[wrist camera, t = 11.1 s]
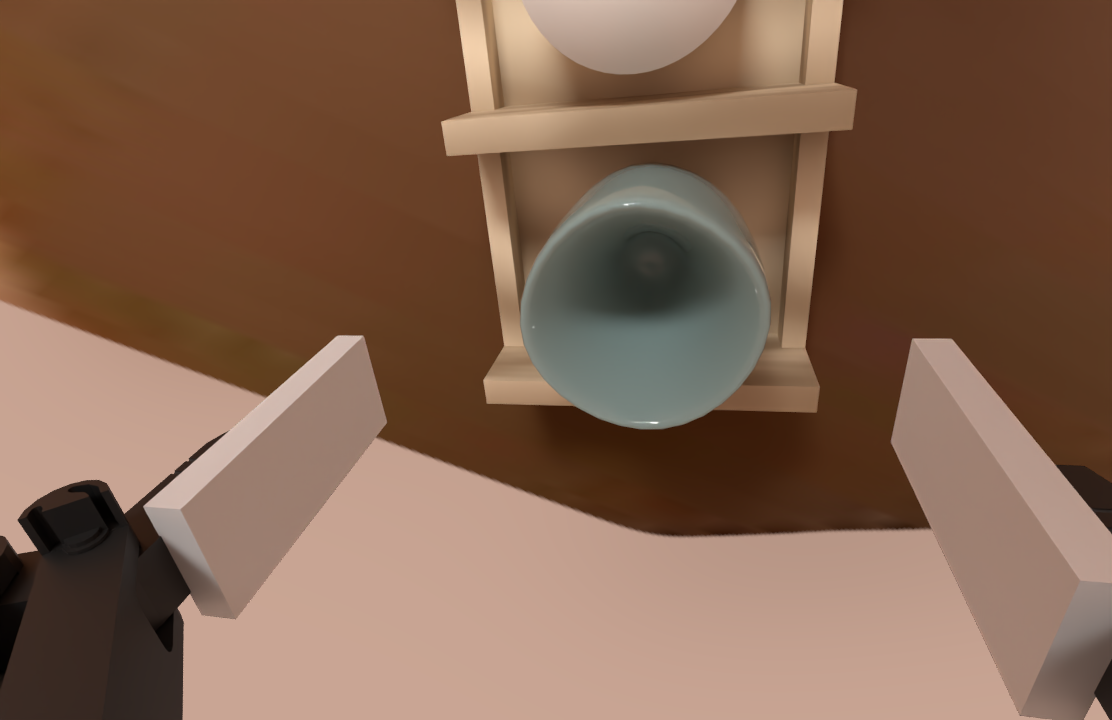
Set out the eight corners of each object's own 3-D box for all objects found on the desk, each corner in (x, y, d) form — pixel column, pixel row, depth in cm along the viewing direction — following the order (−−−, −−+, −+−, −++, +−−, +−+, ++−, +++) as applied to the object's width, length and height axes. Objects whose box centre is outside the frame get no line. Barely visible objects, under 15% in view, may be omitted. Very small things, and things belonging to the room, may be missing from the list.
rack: (450, -207, 22) (375, -285, 17) (857, -288, 20) (920, -413, 14) (520, 344, 33) (487, 403, 27) (793, 345, 30) (816, 412, 24)
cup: (676, 344, 30) (670, 469, 21) (541, 260, 29) (477, 352, 20) (783, 211, 26) (830, 295, 17) (630, 110, 25) (599, 145, 16)
